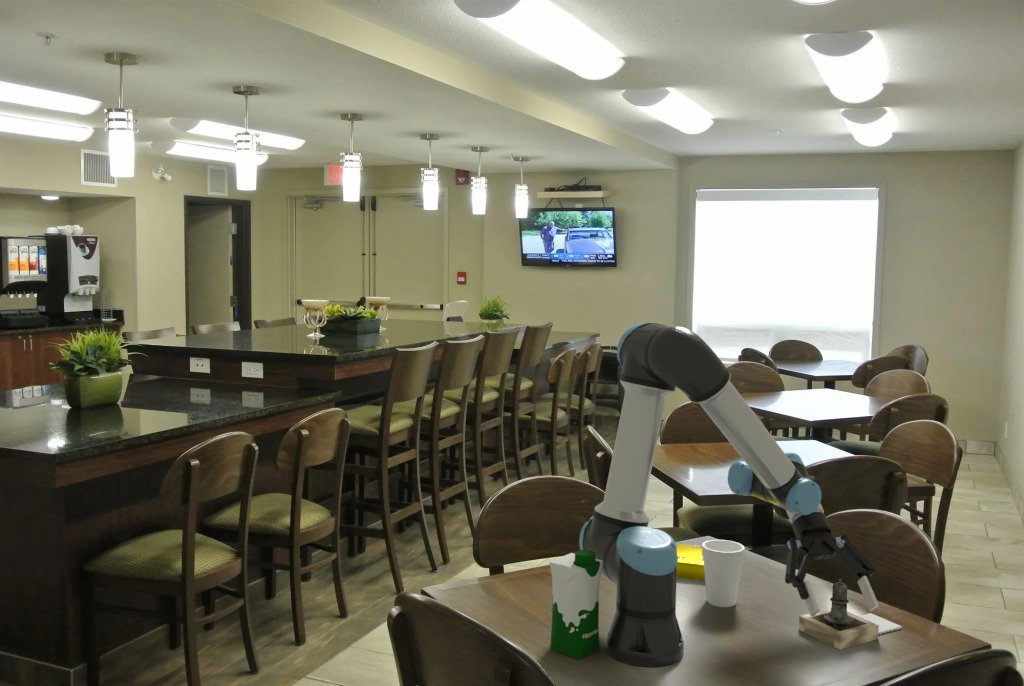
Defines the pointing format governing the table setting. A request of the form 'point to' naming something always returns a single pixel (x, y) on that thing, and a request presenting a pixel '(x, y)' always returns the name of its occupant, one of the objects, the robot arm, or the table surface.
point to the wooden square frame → (838, 639)
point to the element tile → (690, 562)
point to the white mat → (881, 623)
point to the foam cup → (722, 571)
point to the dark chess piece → (839, 608)
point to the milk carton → (575, 603)
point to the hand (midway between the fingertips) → (845, 610)
